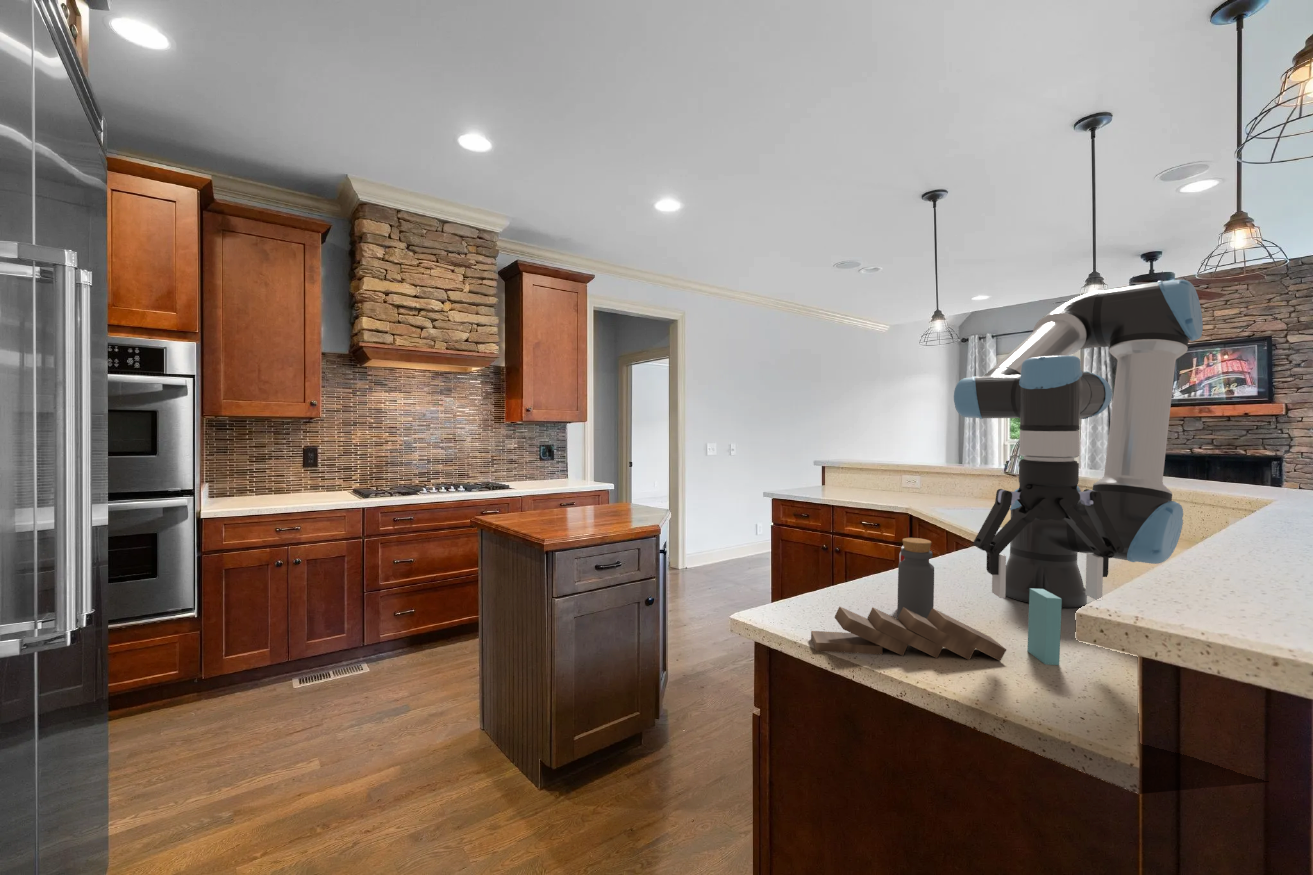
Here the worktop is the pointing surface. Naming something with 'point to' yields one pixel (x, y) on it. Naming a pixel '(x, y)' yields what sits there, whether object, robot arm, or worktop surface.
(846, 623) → the tile
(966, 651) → the tile
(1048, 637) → the tile
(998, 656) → the tile
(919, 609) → the bottle
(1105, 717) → the worktop surface
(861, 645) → the tile
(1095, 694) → the worktop surface
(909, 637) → the tile
